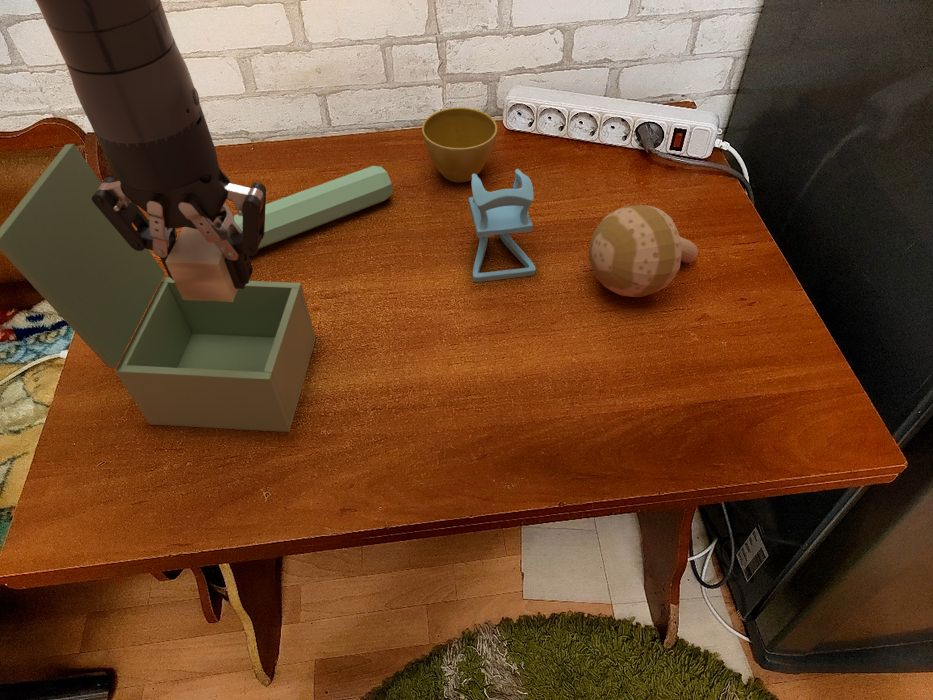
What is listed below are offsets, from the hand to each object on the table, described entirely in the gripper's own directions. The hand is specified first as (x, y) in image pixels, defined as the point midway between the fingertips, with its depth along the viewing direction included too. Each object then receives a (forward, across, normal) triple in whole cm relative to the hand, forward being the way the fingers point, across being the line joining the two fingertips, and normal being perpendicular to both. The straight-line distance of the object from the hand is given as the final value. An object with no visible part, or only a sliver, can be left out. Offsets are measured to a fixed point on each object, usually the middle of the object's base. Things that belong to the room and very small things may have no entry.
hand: (214, 280), depth 62 cm
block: (0, 0, 0) cm, 0 cm away
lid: (-2, -10, 0) cm, 11 cm away
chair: (+15, +25, +21) cm, 36 cm away
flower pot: (+15, +19, +39) cm, 46 cm away
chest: (+15, -2, 0) cm, 15 cm away
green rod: (+15, 0, +25) cm, 30 cm away
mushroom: (+15, +43, +18) cm, 49 cm away
